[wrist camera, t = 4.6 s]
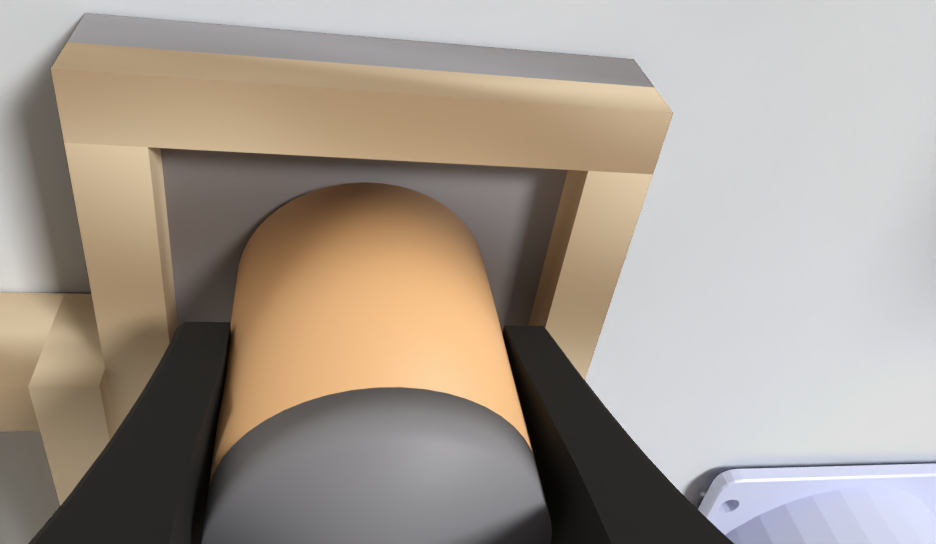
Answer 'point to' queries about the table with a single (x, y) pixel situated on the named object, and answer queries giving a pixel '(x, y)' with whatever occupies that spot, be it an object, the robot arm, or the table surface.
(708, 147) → the table surface
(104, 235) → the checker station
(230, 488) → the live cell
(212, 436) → the robot arm
